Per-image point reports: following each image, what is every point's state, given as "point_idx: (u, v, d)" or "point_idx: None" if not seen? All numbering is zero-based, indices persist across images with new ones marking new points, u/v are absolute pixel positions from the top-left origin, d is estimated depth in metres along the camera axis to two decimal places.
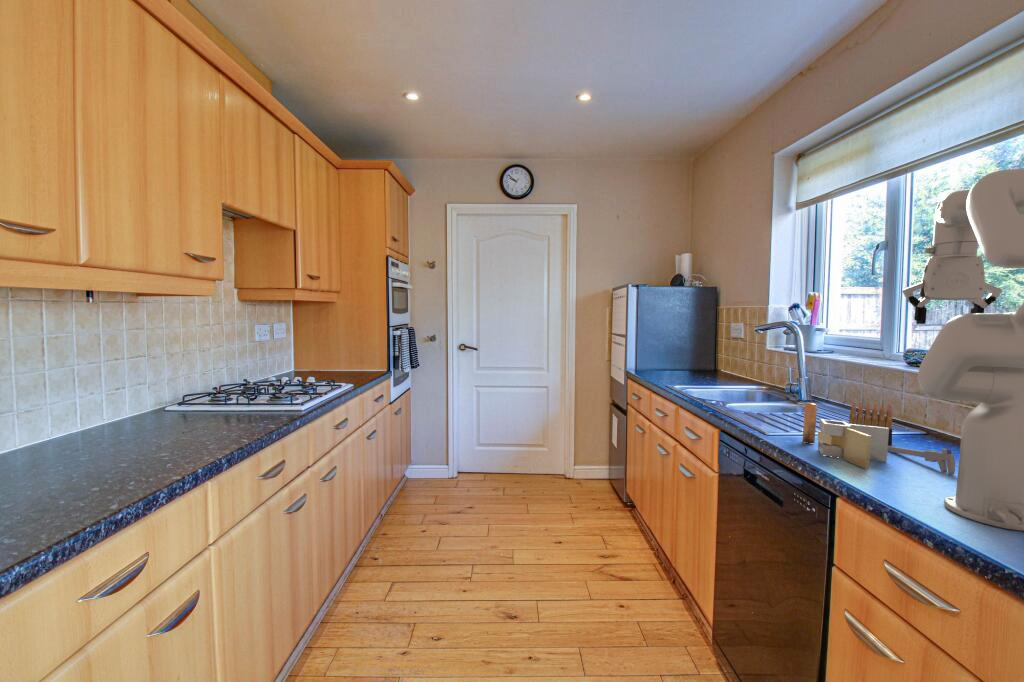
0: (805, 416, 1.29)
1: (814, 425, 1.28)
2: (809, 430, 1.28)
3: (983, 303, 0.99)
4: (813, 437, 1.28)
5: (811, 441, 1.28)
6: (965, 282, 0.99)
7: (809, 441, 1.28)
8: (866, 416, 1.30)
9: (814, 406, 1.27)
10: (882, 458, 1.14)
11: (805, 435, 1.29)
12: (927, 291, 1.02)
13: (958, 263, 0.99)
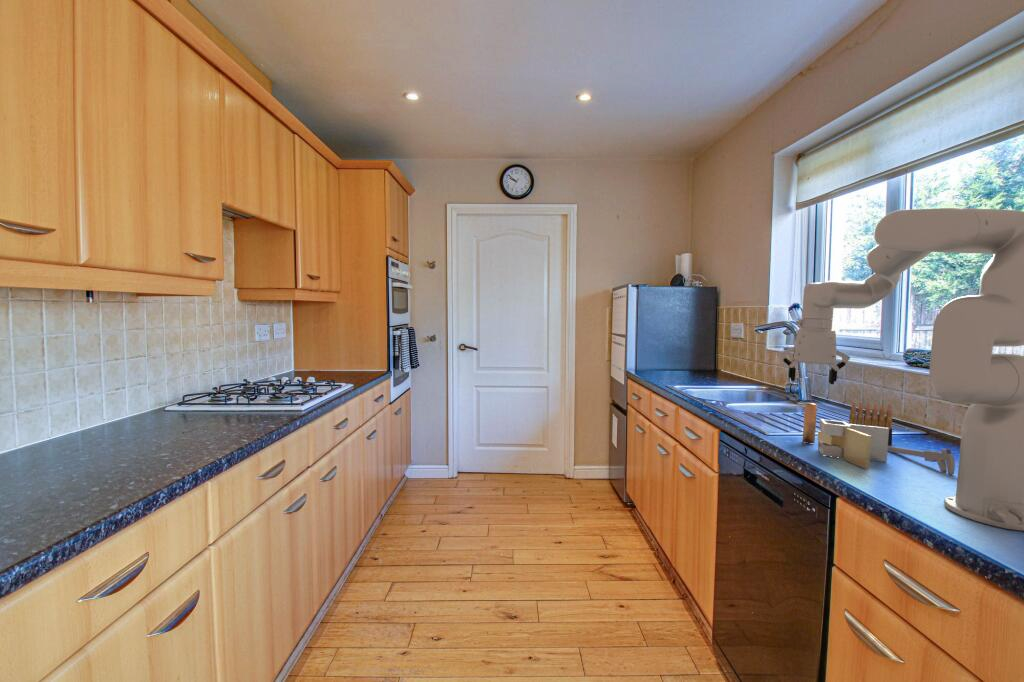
0: (805, 416, 1.29)
1: (814, 425, 1.28)
2: (809, 430, 1.28)
3: (836, 367, 1.25)
4: (813, 437, 1.28)
5: (811, 441, 1.28)
6: (822, 350, 1.24)
7: (809, 441, 1.28)
8: (866, 416, 1.30)
9: (814, 406, 1.27)
10: (882, 458, 1.14)
11: (805, 435, 1.29)
12: (795, 356, 1.28)
13: (817, 335, 1.25)
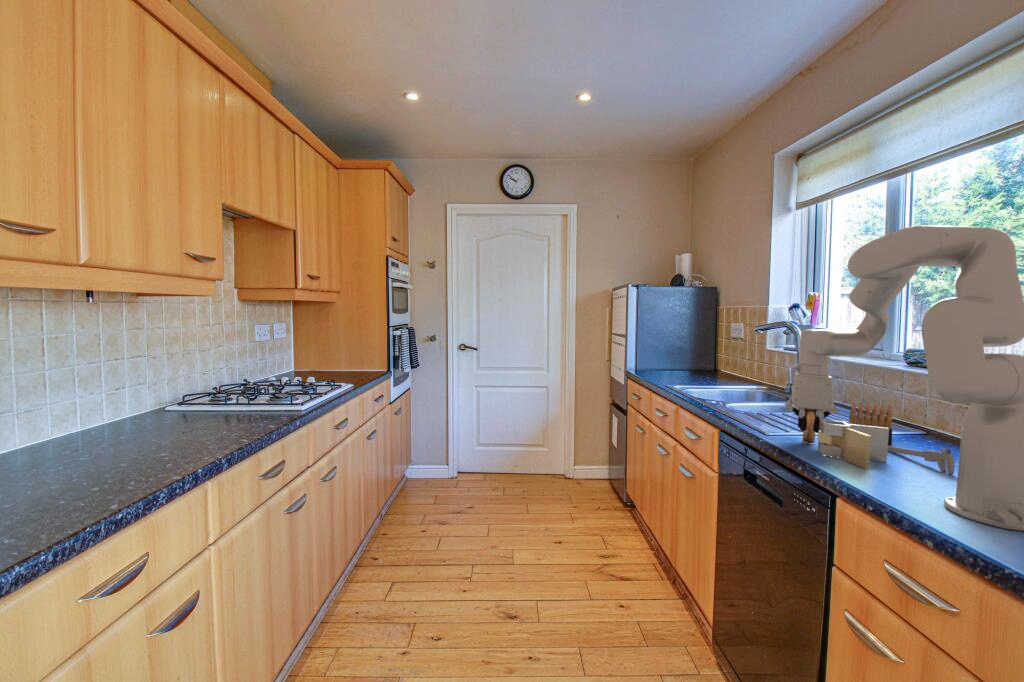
0: (805, 416, 1.29)
1: (814, 425, 1.28)
2: (809, 430, 1.28)
3: (822, 416, 1.26)
4: (813, 437, 1.28)
5: (811, 441, 1.28)
6: (819, 397, 1.25)
7: (809, 441, 1.28)
8: (866, 416, 1.30)
9: None
10: (882, 458, 1.14)
11: (805, 435, 1.29)
12: (793, 401, 1.28)
13: (814, 382, 1.26)
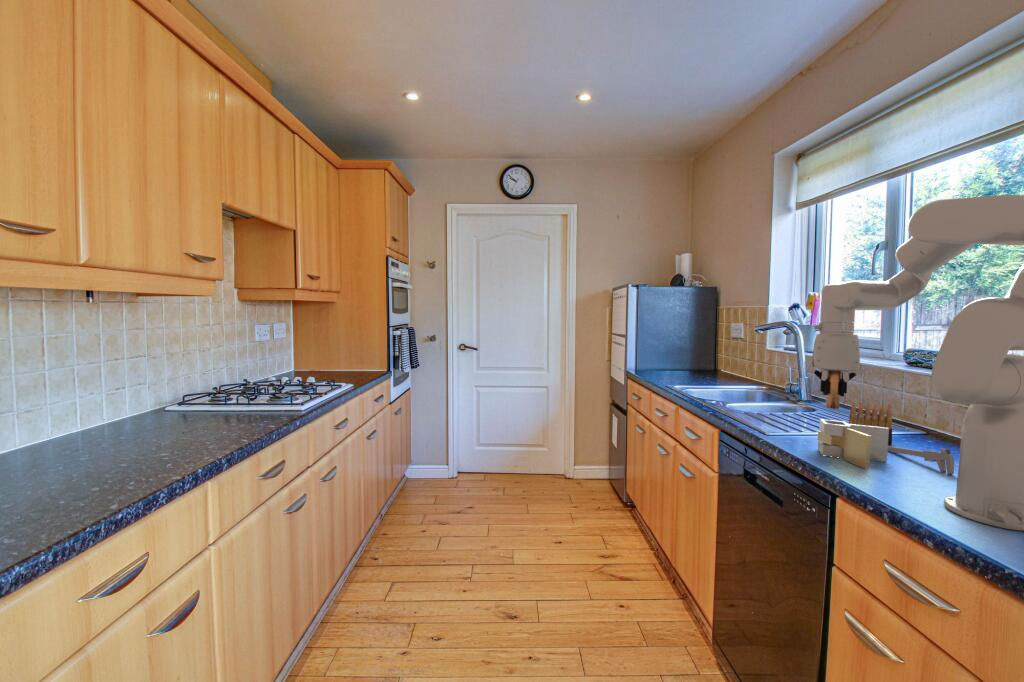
0: (828, 378, 1.19)
1: (838, 388, 1.18)
2: (833, 393, 1.18)
3: (847, 378, 1.17)
4: (838, 401, 1.18)
5: (835, 405, 1.18)
6: (844, 356, 1.16)
7: (833, 405, 1.18)
8: (866, 416, 1.30)
9: None
10: (882, 458, 1.14)
11: (829, 399, 1.19)
12: (815, 362, 1.19)
13: (838, 340, 1.16)
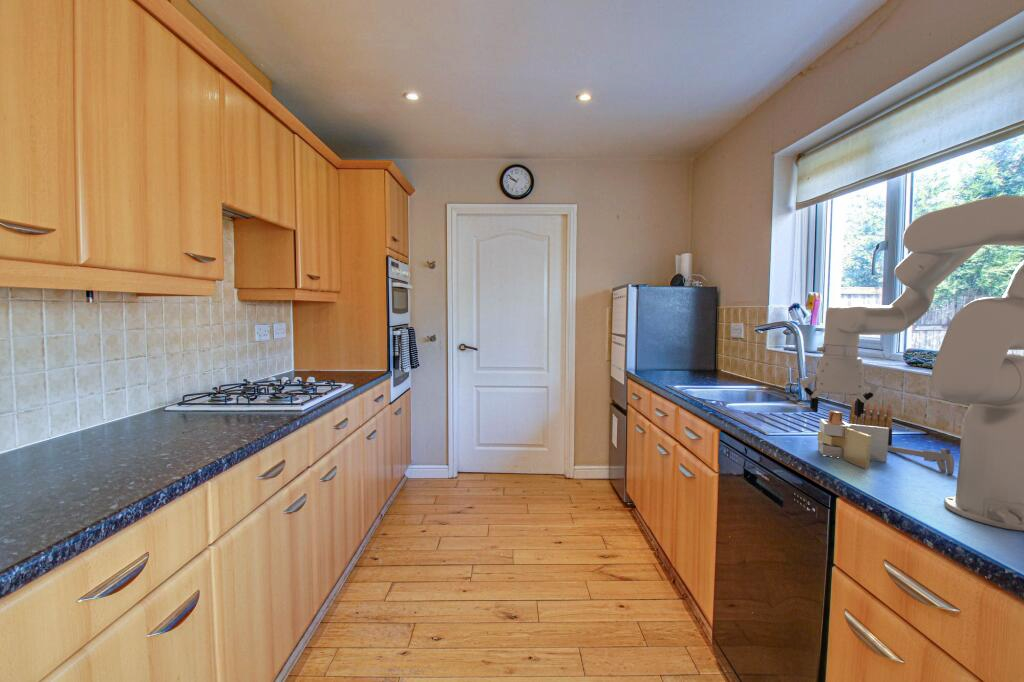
0: None
1: (839, 436, 1.17)
2: None
3: (863, 398, 1.14)
4: None
5: None
6: (847, 380, 1.14)
7: None
8: (866, 416, 1.30)
9: (839, 415, 1.16)
10: (882, 458, 1.14)
11: None
12: (818, 385, 1.17)
13: (842, 364, 1.14)
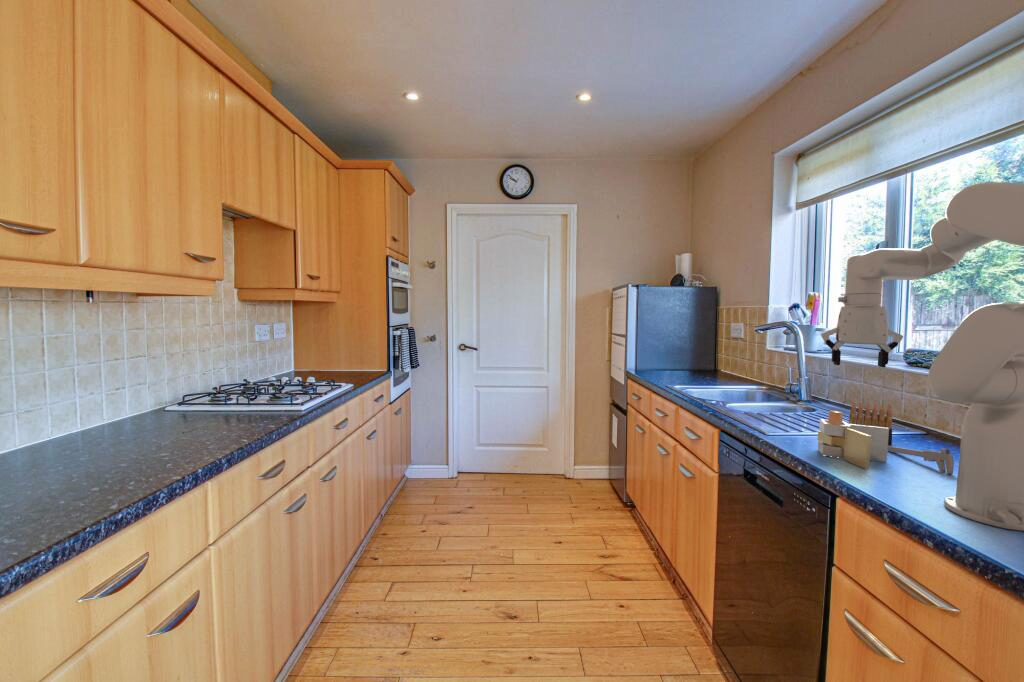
0: None
1: (839, 436, 1.17)
2: None
3: (887, 348, 1.11)
4: None
5: None
6: (871, 329, 1.11)
7: None
8: (866, 416, 1.30)
9: (839, 415, 1.16)
10: (882, 458, 1.14)
11: None
12: (840, 336, 1.14)
13: (865, 312, 1.11)
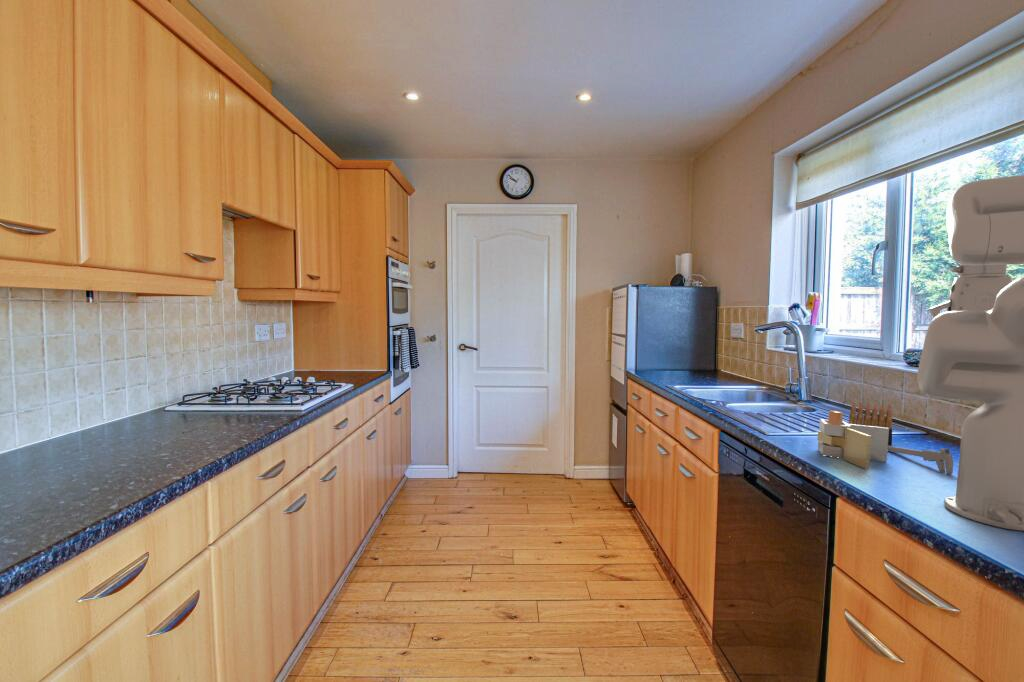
0: None
1: (839, 436, 1.17)
2: None
3: None
4: None
5: None
6: (994, 302, 0.98)
7: None
8: (866, 416, 1.30)
9: (839, 415, 1.16)
10: (882, 458, 1.14)
11: None
12: (955, 310, 1.01)
13: (987, 283, 0.99)
